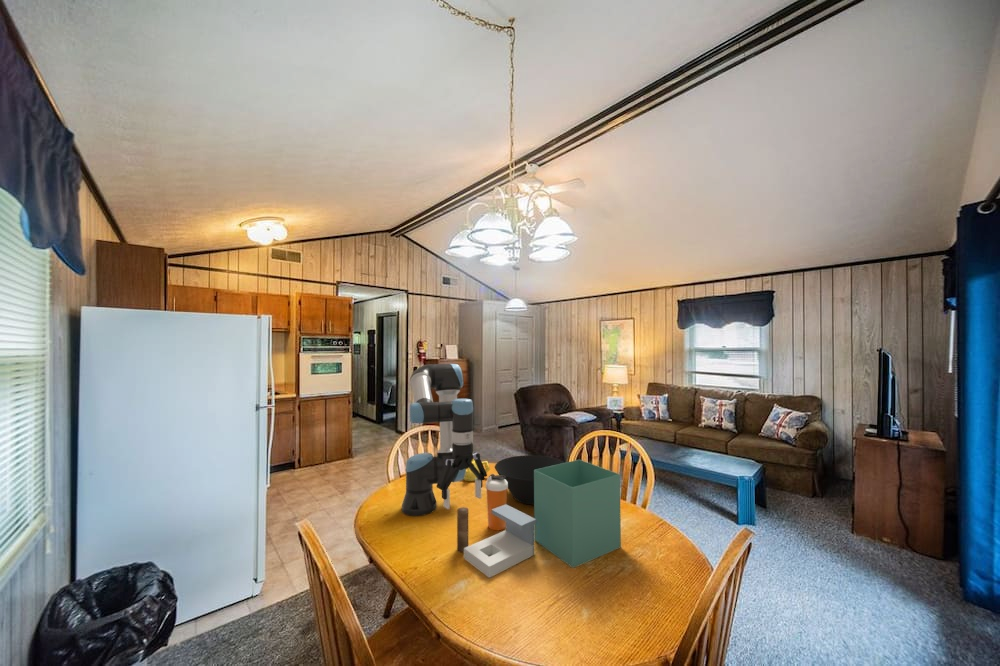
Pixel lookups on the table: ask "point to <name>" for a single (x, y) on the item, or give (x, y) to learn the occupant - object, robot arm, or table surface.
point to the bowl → (523, 474)
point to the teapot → (470, 475)
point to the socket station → (504, 543)
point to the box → (577, 511)
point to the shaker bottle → (496, 499)
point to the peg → (462, 528)
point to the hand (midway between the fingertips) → (462, 502)
